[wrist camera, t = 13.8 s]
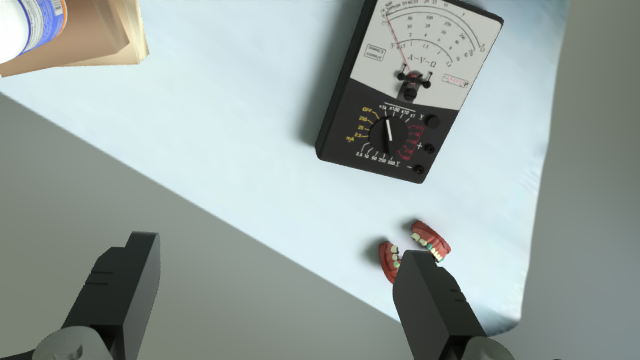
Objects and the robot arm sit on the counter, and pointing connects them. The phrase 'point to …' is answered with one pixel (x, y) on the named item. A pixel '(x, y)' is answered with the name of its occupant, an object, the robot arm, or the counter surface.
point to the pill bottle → (29, 25)
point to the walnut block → (75, 38)
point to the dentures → (421, 235)
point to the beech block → (135, 32)
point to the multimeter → (404, 84)
